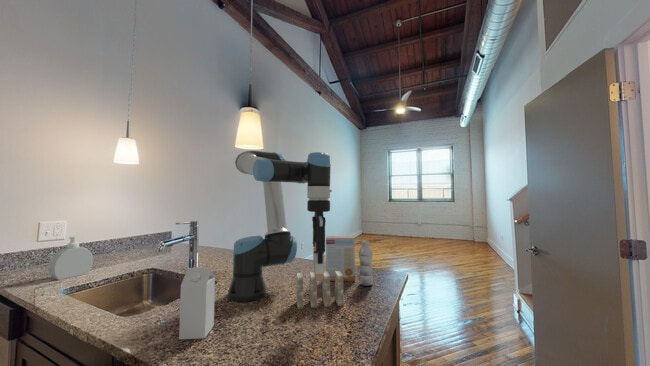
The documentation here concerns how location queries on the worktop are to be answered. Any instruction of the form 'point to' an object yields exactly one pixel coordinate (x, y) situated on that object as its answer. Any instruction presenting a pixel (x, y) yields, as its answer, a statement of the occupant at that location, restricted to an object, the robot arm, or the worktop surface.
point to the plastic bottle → (365, 264)
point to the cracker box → (340, 257)
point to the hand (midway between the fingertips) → (318, 270)
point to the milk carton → (197, 303)
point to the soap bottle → (70, 261)
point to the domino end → (318, 276)
